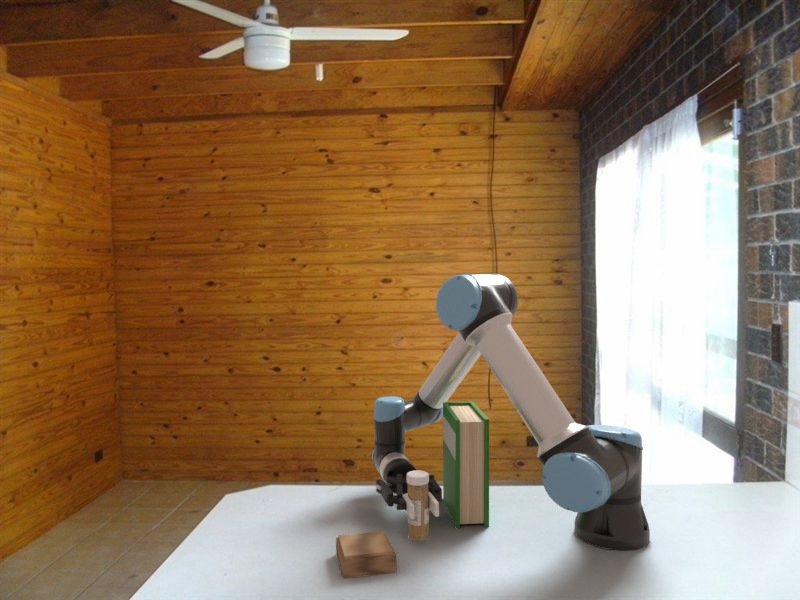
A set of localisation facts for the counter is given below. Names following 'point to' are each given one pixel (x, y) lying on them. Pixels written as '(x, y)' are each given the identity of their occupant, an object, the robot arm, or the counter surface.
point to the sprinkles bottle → (418, 505)
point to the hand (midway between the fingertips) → (424, 511)
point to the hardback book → (466, 463)
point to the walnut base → (365, 554)
